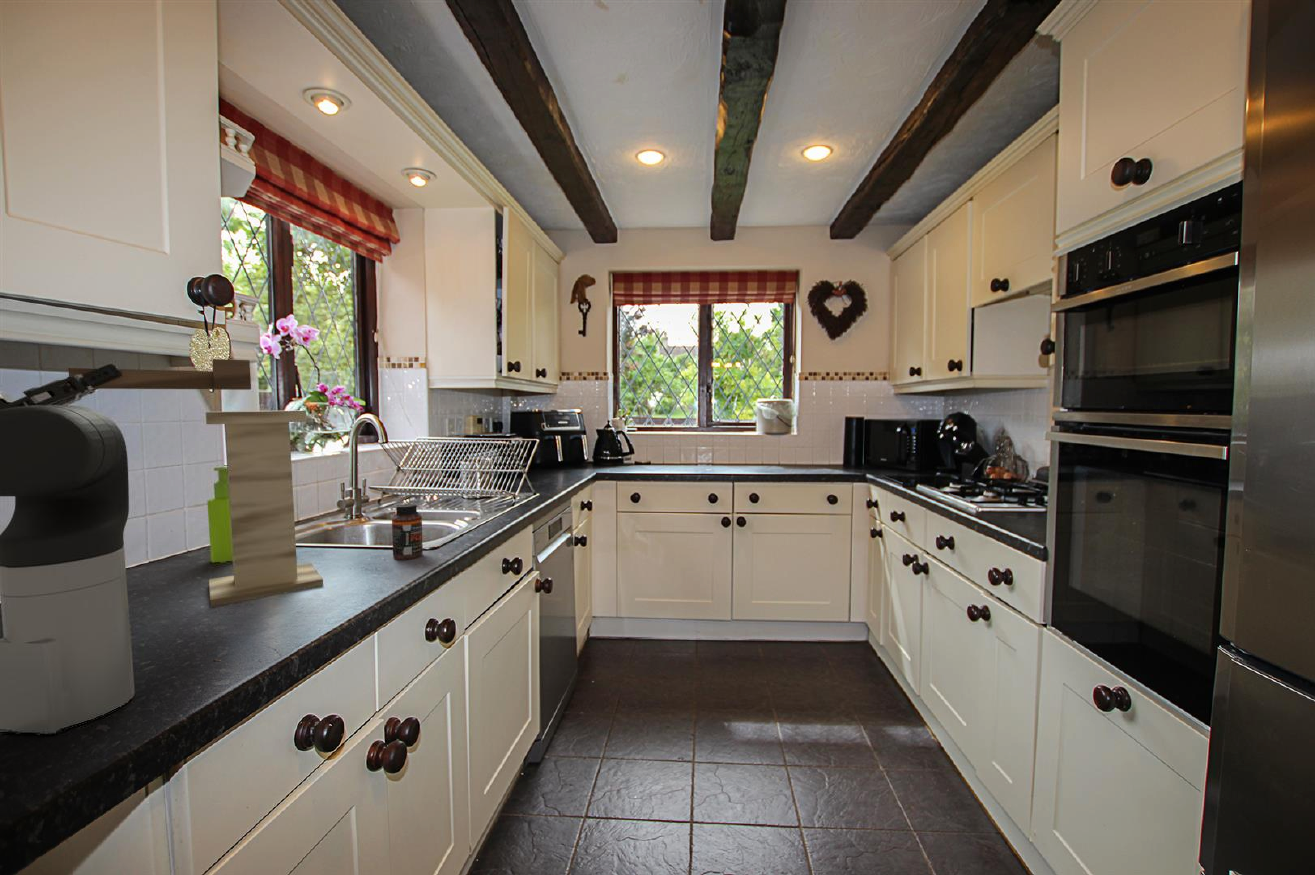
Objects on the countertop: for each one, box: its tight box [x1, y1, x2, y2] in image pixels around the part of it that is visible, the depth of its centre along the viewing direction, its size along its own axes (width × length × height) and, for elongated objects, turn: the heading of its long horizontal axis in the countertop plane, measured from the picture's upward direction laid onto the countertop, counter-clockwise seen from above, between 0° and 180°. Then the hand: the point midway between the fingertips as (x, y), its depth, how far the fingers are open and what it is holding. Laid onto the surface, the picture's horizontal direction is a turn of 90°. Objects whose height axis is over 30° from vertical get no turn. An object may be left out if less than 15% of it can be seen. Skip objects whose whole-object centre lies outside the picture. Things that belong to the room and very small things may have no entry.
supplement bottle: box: [391, 503, 424, 560], centre depth 119 cm, size 6×6×11 cm
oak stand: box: [205, 409, 324, 608], centre depth 100 cm, size 14×16×32 cm
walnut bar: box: [67, 358, 252, 391], centre depth 91 cm, size 5×22×5 cm, turn 130°
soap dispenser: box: [207, 466, 233, 563], centre depth 118 cm, size 6×7×20 cm
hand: (118, 370), depth 87 cm, fingers closed on walnut bar, 3 cm apart
